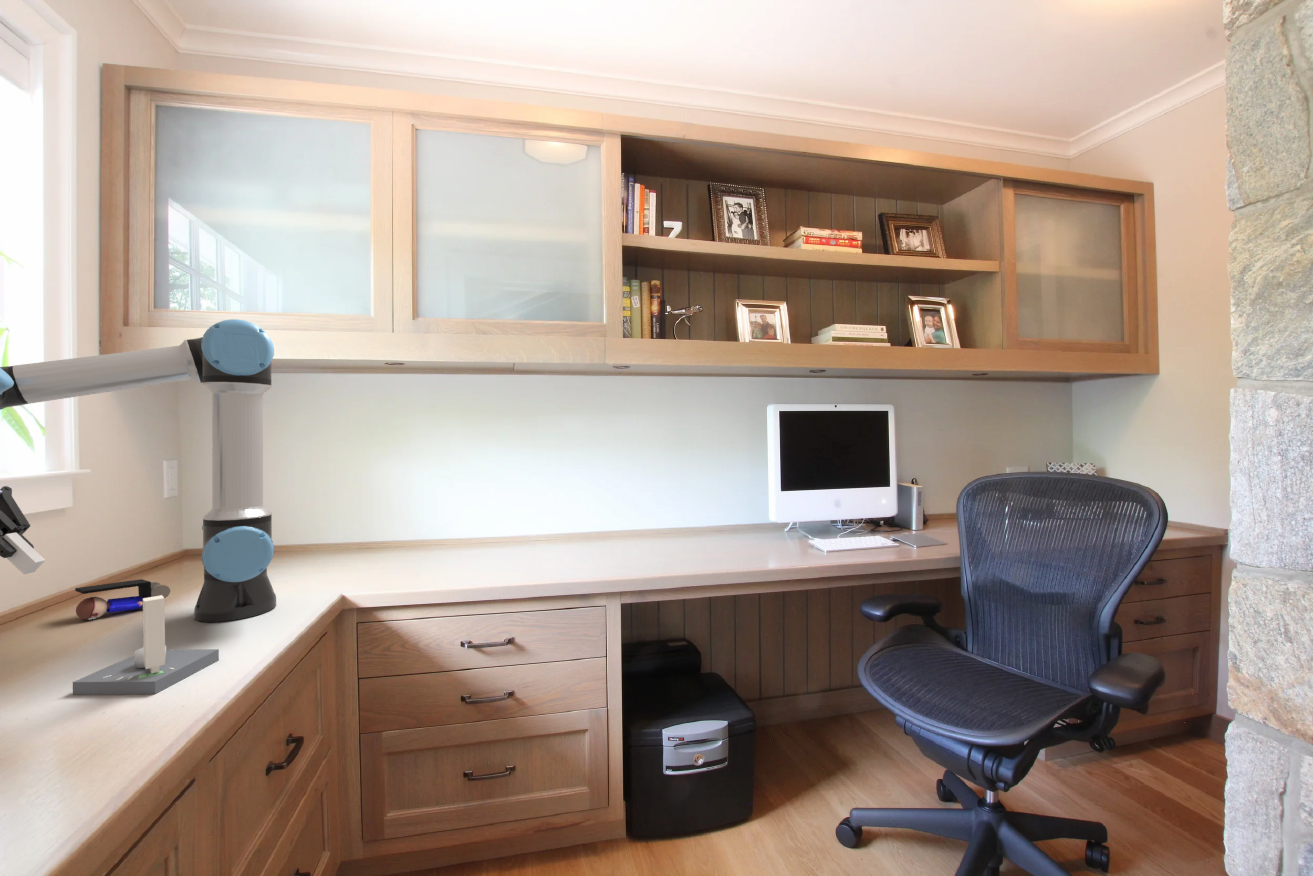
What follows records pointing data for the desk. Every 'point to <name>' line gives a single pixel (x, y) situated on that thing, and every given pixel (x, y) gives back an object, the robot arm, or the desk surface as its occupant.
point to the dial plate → (145, 674)
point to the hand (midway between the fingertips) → (34, 567)
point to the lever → (152, 635)
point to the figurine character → (99, 606)
